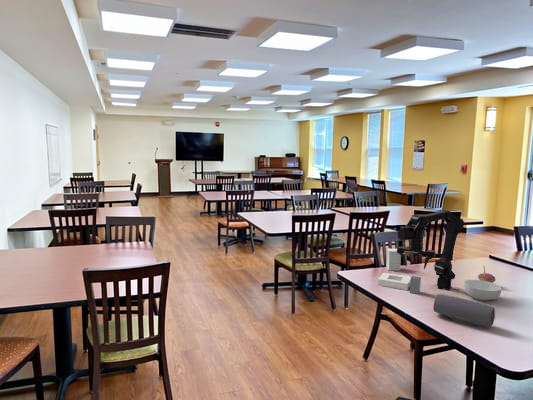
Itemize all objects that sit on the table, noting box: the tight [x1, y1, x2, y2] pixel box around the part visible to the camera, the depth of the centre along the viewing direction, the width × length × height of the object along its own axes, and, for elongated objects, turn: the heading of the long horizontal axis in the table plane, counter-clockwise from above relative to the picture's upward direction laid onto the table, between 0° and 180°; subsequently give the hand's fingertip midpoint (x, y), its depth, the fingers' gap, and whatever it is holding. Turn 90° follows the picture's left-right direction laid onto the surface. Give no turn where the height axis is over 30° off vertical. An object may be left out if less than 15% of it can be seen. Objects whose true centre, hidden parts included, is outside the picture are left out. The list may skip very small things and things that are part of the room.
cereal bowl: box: [463, 279, 503, 302], centre depth 198 cm, size 17×17×7 cm
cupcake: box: [477, 264, 496, 283], centre depth 217 cm, size 9×8×12 cm
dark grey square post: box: [409, 275, 422, 295], centre depth 205 cm, size 4×4×8 cm
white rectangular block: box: [385, 248, 402, 272], centre depth 247 cm, size 7×7×13 cm
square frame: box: [377, 272, 412, 291], centre depth 219 cm, size 16×14×4 cm
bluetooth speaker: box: [432, 293, 496, 328], centre depth 169 cm, size 23×9×10 cm, turn 48°
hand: (415, 267), depth 205 cm, fingers open, 9 cm apart
